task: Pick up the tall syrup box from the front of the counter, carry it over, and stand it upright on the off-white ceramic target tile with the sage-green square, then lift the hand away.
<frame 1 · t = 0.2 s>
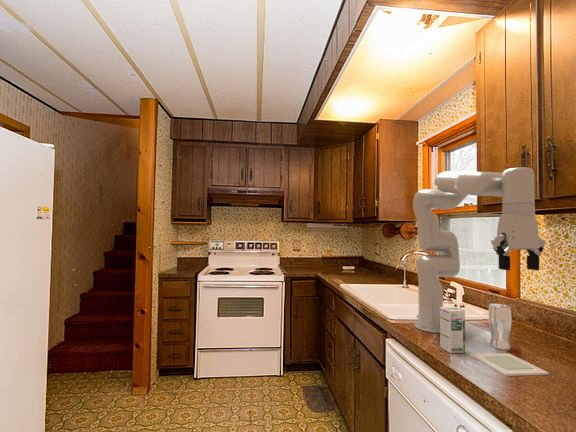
hand: (518, 269, 86), 31 cm above the countertop, tool pointing down, fingers open, 9 cm apart
target tile: (507, 364, 94), on the countertop
beer glass: (500, 347, 109), on the countertop
syrup box: (452, 350, 105), on the countertop
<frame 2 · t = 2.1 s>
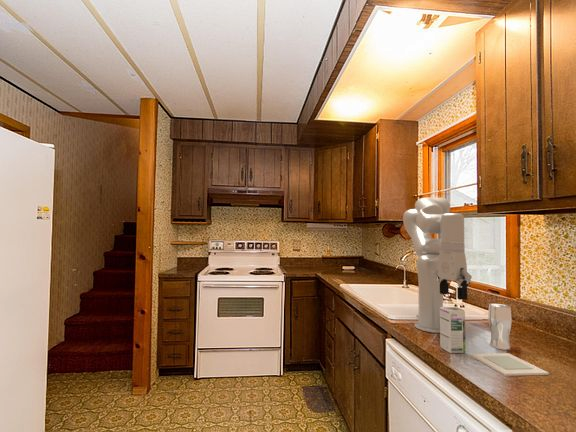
hand: (452, 296, 105), 19 cm above the countertop, tool pointing down, fingers open, 9 cm apart
nothing on the countertop moved.
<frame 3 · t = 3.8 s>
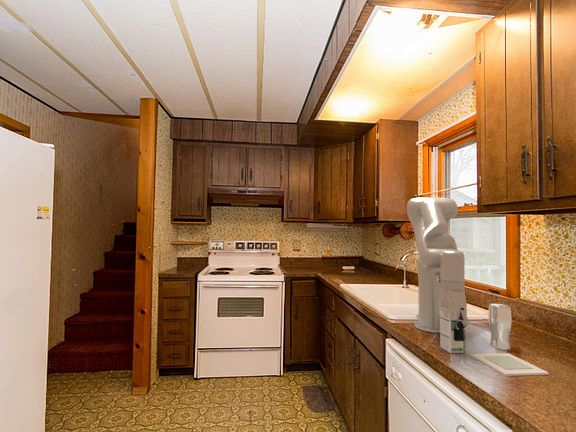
hand: (452, 336, 105), 5 cm above the countertop, tool pointing down, fingers closed on syrup box, 5 cm apart
syrup box: (452, 350, 105), on the countertop, touching gripper
everything else where it was.
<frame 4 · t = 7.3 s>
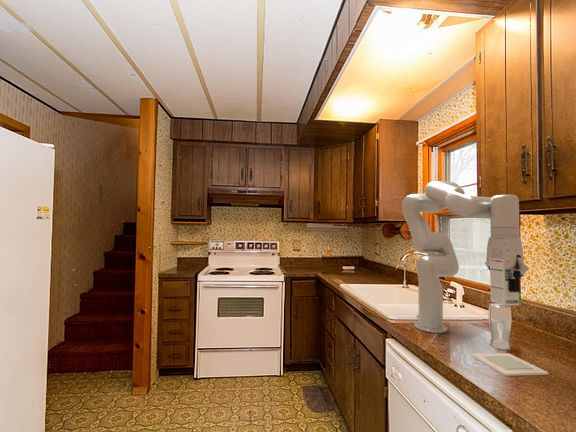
hand: (505, 289, 95), 24 cm above the countertop, tool pointing down, fingers closed on syrup box, 5 cm apart
syrup box: (505, 304, 95), point 19 cm above the countertop, touching gripper
everything else where it was.
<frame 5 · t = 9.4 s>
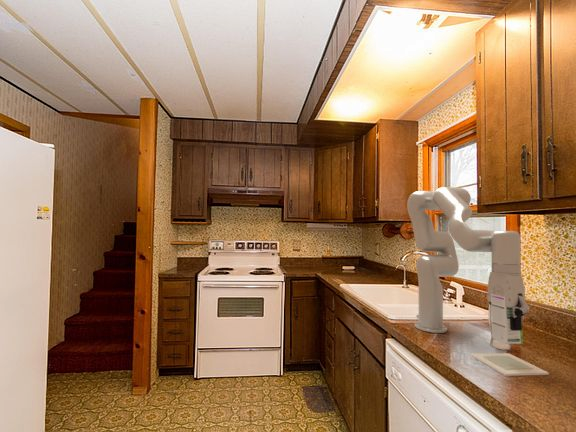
hand: (506, 326, 94), 12 cm above the countertop, tool pointing down, fingers closed on syrup box, 5 cm apart
syrup box: (507, 341, 94), point 7 cm above the countertop, touching gripper
everything else where it was.
when the fingers open (6 cm above the countertop, at t = 11.0 s): syrup box drops 1 cm, resting on target tile.
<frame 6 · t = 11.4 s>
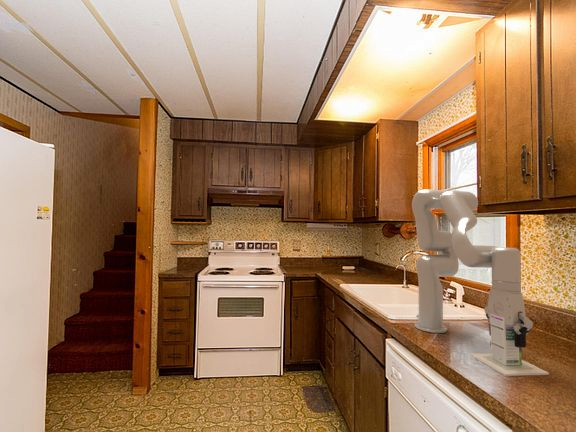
hand: (506, 341, 94), 7 cm above the countertop, tool pointing down, fingers open, 9 cm apart
syrup box: (505, 362, 94), point 1 cm above the countertop, touching target tile
everything else where it was.
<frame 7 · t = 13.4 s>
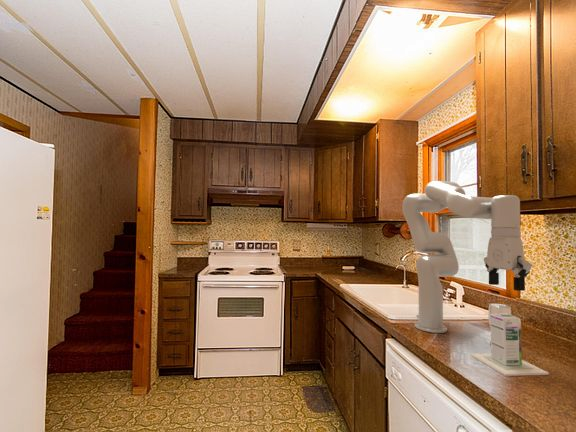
hand: (505, 287, 95), 24 cm above the countertop, tool pointing down, fingers open, 9 cm apart
nothing on the countertop moved.
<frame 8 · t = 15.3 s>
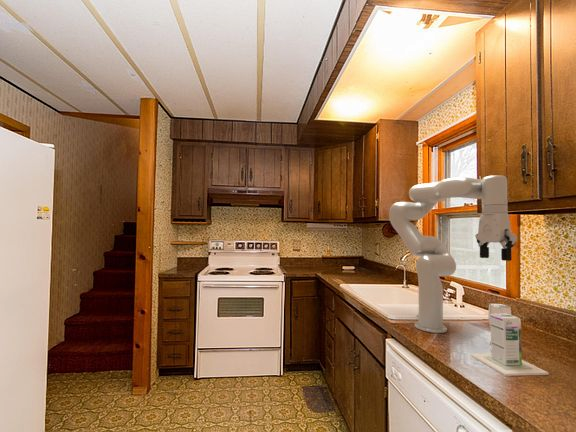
hand: (494, 259, 105), 32 cm above the countertop, tool pointing down, fingers open, 9 cm apart
nothing on the countertop moved.
at the end: syrup box inside the target area on the target tile (0.3 cm from its centre), point 0.6 cm above the target tile's base; syrup box tilted 0°; the gripper is holding nothing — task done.
